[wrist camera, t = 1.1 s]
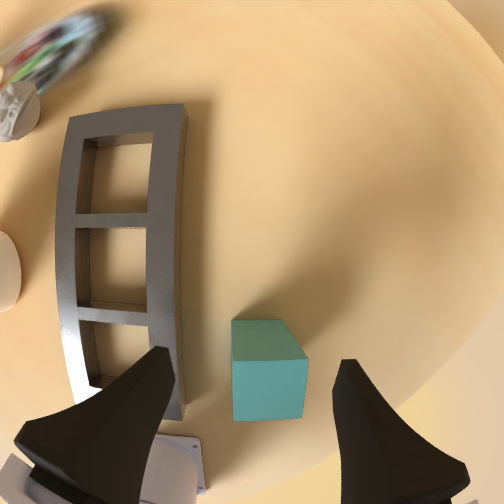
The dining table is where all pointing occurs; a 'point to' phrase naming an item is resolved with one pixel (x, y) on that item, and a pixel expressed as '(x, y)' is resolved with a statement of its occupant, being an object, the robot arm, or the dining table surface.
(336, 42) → the dining table surface
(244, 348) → the square peg
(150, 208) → the rail
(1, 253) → the beverage can
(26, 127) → the grey lumpy piece
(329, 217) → the dining table surface
